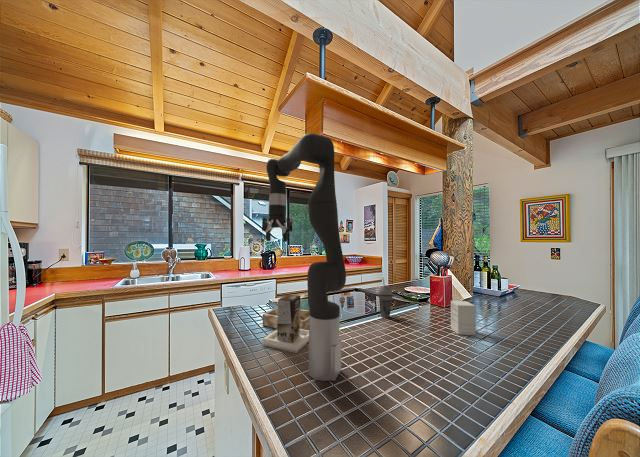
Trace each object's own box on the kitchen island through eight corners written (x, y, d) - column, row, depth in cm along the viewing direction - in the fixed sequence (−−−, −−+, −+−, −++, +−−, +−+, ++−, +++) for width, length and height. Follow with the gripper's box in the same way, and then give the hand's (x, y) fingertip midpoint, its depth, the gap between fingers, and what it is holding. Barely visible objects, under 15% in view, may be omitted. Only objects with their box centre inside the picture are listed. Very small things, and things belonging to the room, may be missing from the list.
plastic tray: (313, 337, 97) (313, 331, 97) (296, 353, 84) (296, 345, 84) (283, 331, 103) (283, 325, 103) (263, 345, 90) (263, 338, 90)
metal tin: (287, 321, 115) (288, 306, 115) (282, 324, 110) (282, 309, 111) (278, 319, 117) (279, 305, 117) (272, 323, 112) (273, 307, 112)
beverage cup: (394, 319, 120) (394, 279, 121) (379, 318, 121) (380, 278, 121) (390, 314, 128) (390, 276, 128) (376, 314, 128) (376, 276, 128)
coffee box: (292, 345, 88) (293, 300, 89) (276, 343, 90) (277, 299, 90) (300, 335, 97) (301, 295, 98) (285, 333, 99) (286, 293, 99)
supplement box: (467, 329, 110) (467, 301, 110) (476, 335, 102) (476, 305, 103) (450, 328, 110) (450, 300, 111) (457, 334, 103) (457, 304, 103)
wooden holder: (317, 322, 114) (317, 311, 114) (304, 333, 101) (304, 320, 101) (279, 316, 122) (279, 305, 122) (262, 325, 109) (262, 313, 109)
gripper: (259, 204, 106) (258, 241, 106) (287, 203, 101) (286, 242, 100) (269, 206, 113) (268, 240, 113) (295, 205, 108) (294, 241, 107)
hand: (276, 241), depth 106 cm, fingers open, 8 cm apart
